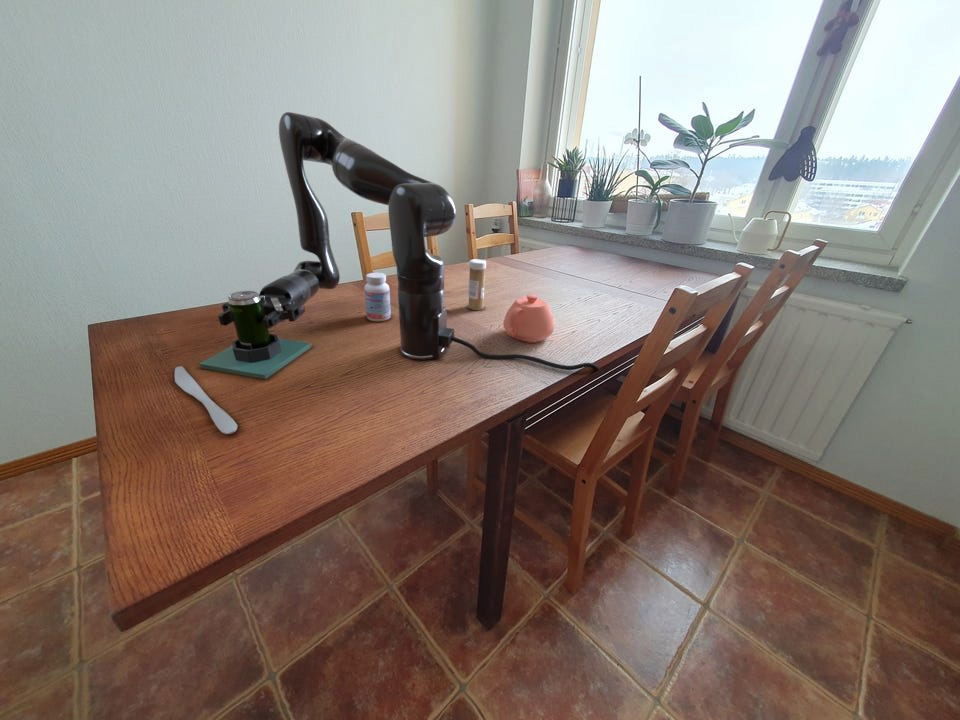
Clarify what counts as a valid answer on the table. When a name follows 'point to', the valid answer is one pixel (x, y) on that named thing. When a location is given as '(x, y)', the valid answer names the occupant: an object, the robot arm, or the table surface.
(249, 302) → the beer can
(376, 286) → the pill bottle
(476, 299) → the sprinkles bottle
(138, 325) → the table surface
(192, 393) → the butter knife
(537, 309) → the sugar bowl
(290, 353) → the dock
